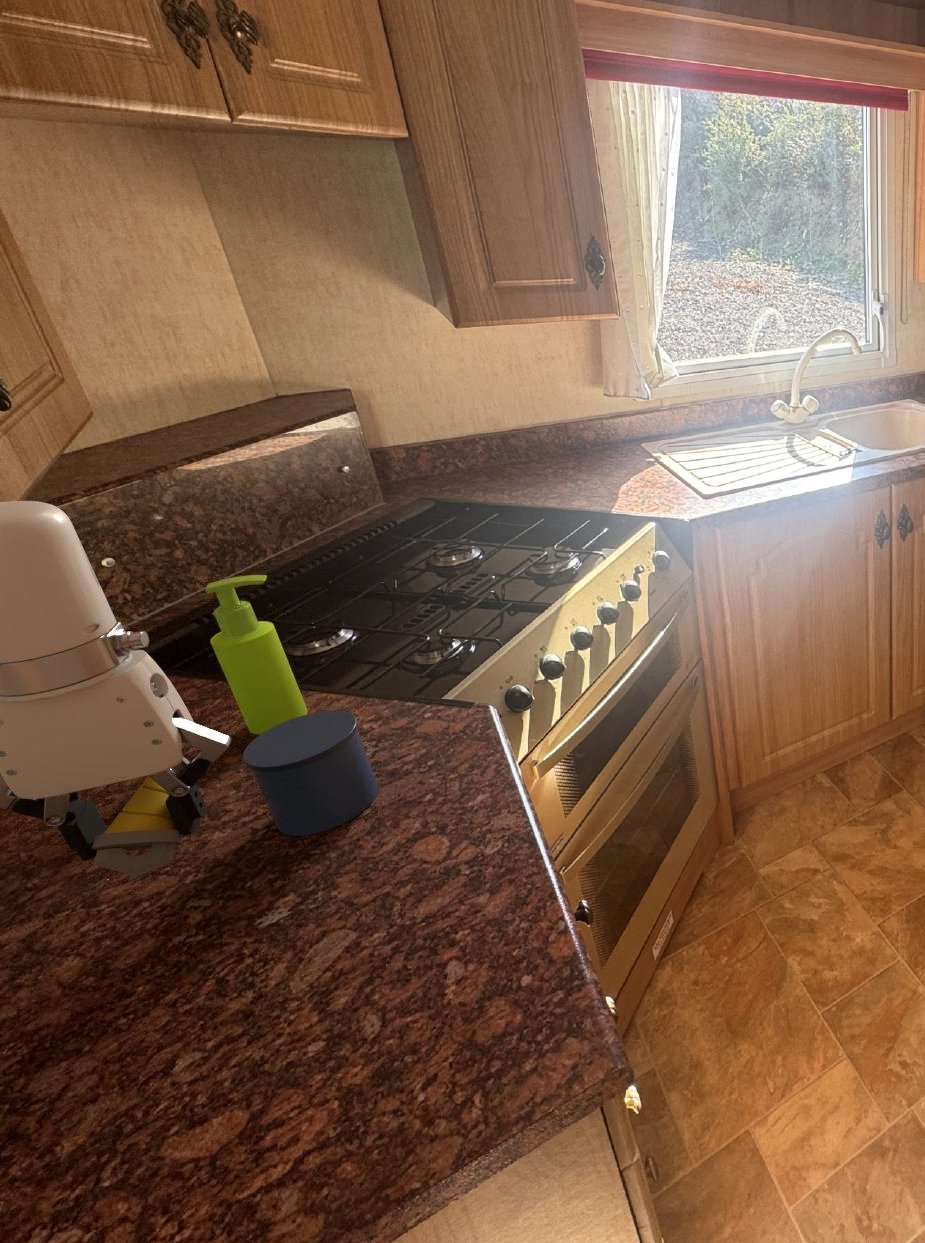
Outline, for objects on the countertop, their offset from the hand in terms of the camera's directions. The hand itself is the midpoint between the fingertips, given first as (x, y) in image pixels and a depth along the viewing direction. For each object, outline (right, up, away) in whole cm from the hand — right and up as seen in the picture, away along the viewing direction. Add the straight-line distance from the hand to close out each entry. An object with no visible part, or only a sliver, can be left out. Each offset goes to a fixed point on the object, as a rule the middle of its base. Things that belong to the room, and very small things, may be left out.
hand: (145, 834), depth 64 cm
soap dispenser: (-16, +2, +31) cm, 35 cm away
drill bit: (0, -2, +1) cm, 2 cm away
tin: (+2, -4, +17) cm, 18 cm away
